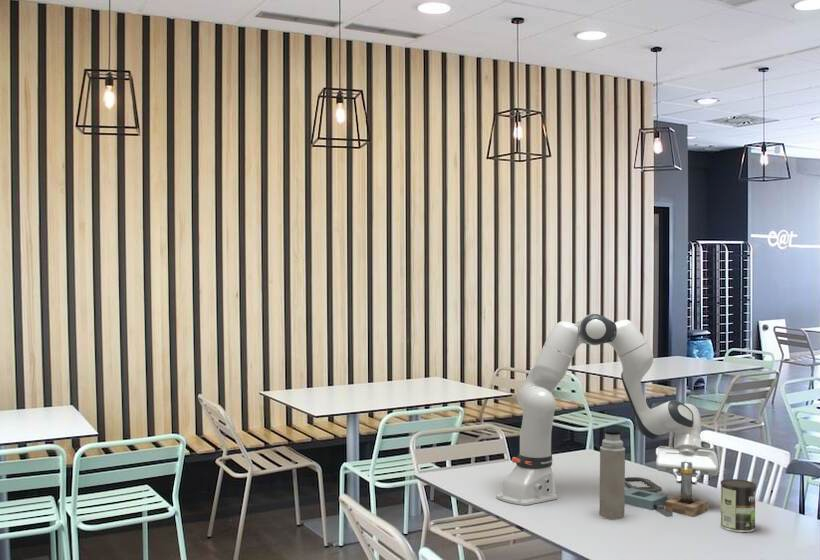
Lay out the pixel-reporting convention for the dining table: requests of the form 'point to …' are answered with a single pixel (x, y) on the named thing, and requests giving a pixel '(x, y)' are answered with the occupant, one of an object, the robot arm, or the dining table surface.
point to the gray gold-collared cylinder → (686, 482)
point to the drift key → (662, 510)
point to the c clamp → (652, 485)
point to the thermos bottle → (612, 476)
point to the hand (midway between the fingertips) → (686, 483)
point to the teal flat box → (644, 498)
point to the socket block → (686, 506)
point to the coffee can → (738, 505)
